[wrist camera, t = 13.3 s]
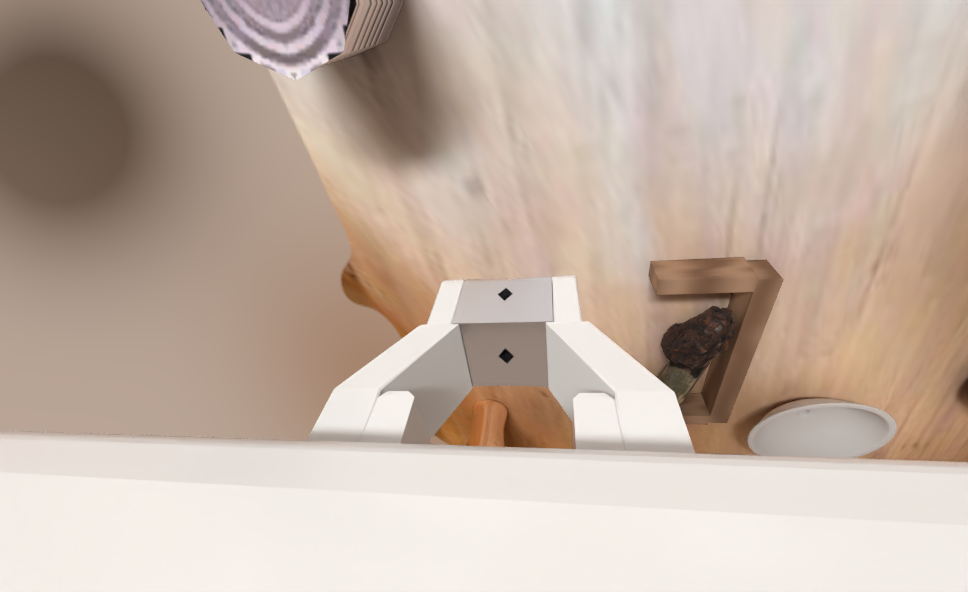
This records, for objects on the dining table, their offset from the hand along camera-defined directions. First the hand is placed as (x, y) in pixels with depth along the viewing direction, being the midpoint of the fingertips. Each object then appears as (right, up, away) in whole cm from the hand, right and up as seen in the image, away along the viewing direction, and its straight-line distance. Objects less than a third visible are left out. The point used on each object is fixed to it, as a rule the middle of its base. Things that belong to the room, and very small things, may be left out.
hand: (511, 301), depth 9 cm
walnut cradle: (+26, -6, +44) cm, 51 cm away
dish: (+46, -16, +49) cm, 70 cm away
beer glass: (0, -20, +58) cm, 61 cm away
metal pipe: (+26, -7, +45) cm, 53 cm away
